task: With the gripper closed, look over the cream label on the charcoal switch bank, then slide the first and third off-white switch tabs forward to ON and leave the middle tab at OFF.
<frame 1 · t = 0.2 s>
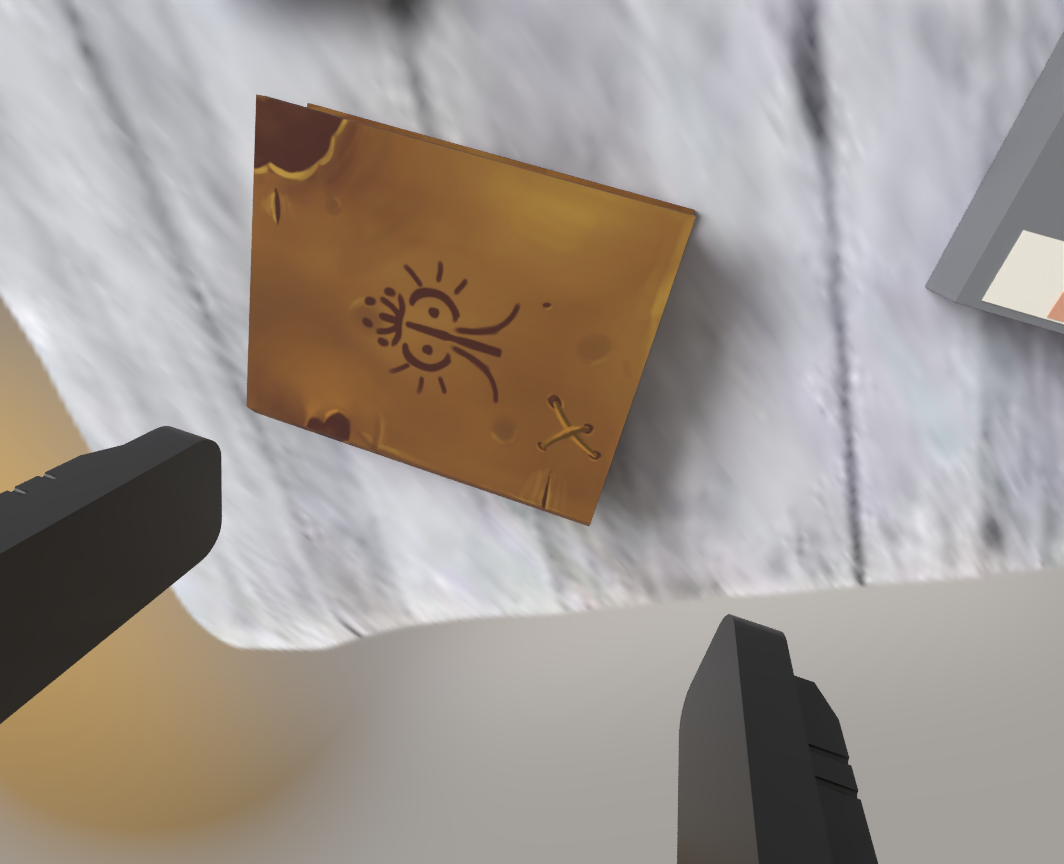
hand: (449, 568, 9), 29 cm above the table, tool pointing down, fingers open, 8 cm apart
diary: (468, 311, 39), on the table
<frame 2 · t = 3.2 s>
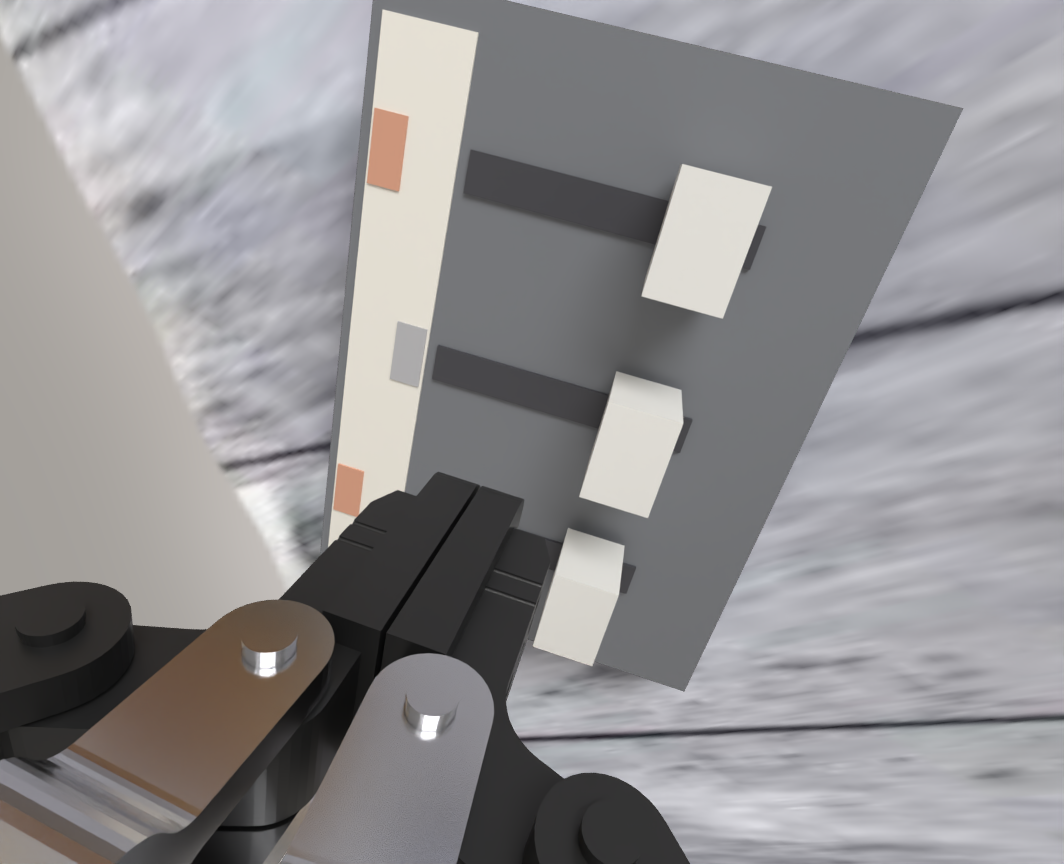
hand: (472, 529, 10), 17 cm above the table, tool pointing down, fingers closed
switch tab 3: (579, 594, 24), point 6 cm above the table, slide at 0.0 cm
switch bank: (573, 367, 27), on the table
switch tab 1: (700, 238, 18), point 6 cm above the table, slide at 0.0 cm
switch tab 2: (631, 442, 21), point 6 cm above the table, slide at 0.0 cm
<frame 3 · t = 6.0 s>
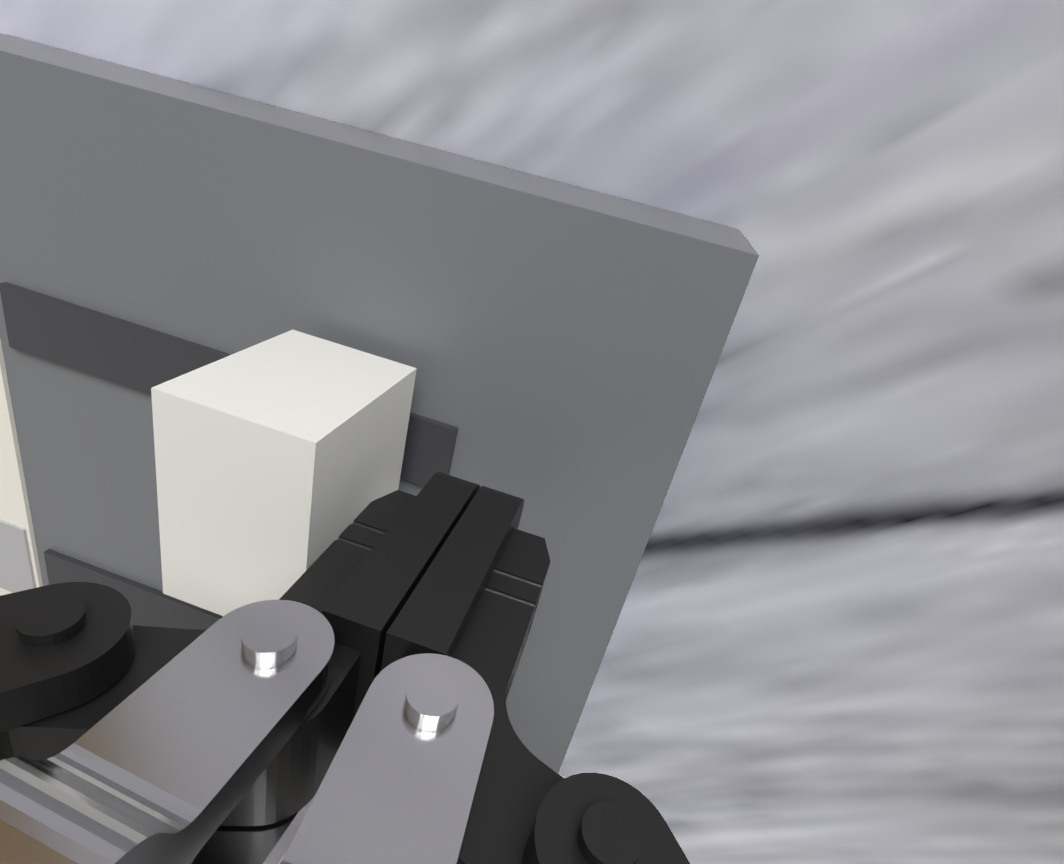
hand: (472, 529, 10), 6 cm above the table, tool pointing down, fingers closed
switch bank: (310, 546, 19), on the table
switch tab 1: (296, 475, 10), point 6 cm above the table, slide at 0.0 cm, touching gripper
switch tab 2: (279, 746, 13), point 6 cm above the table, slide at 0.0 cm
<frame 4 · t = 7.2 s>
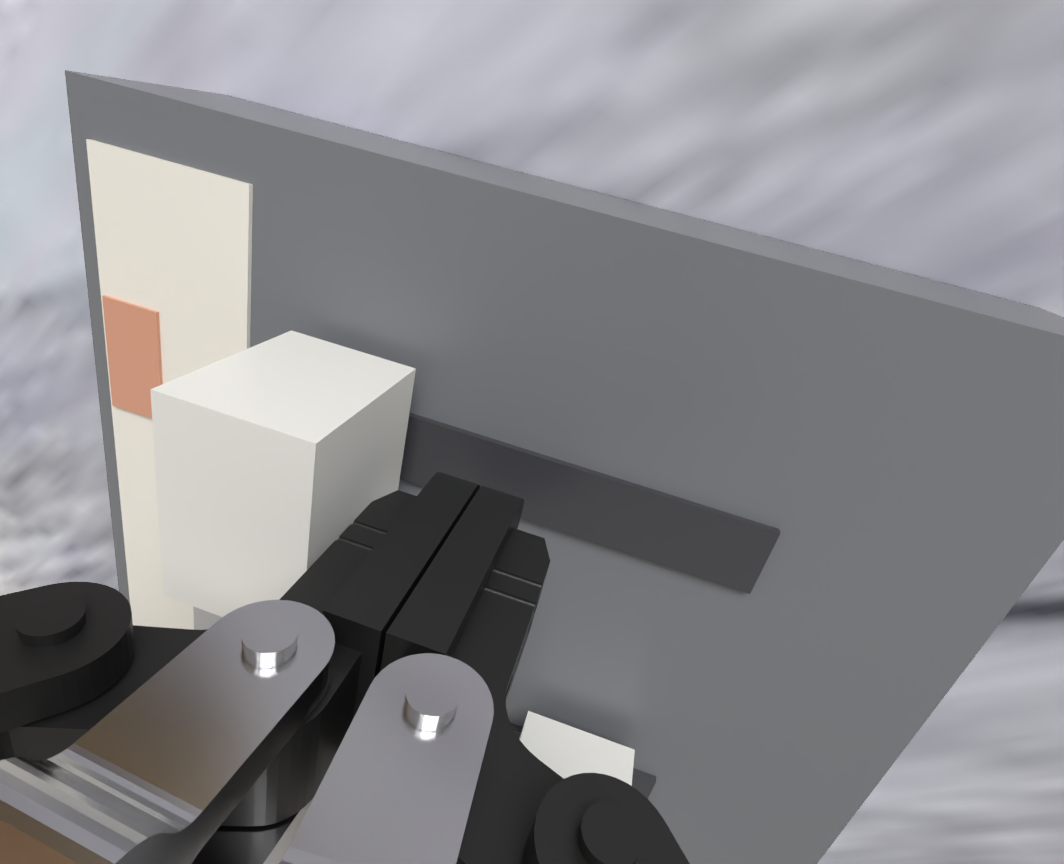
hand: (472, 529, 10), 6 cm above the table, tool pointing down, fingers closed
switch bank: (492, 611, 18), on the table
switch tab 1: (295, 476, 10), point 6 cm above the table, slide at 6.1 cm, touching gripper
switch tab 2: (546, 852, 12), point 6 cm above the table, slide at 0.0 cm
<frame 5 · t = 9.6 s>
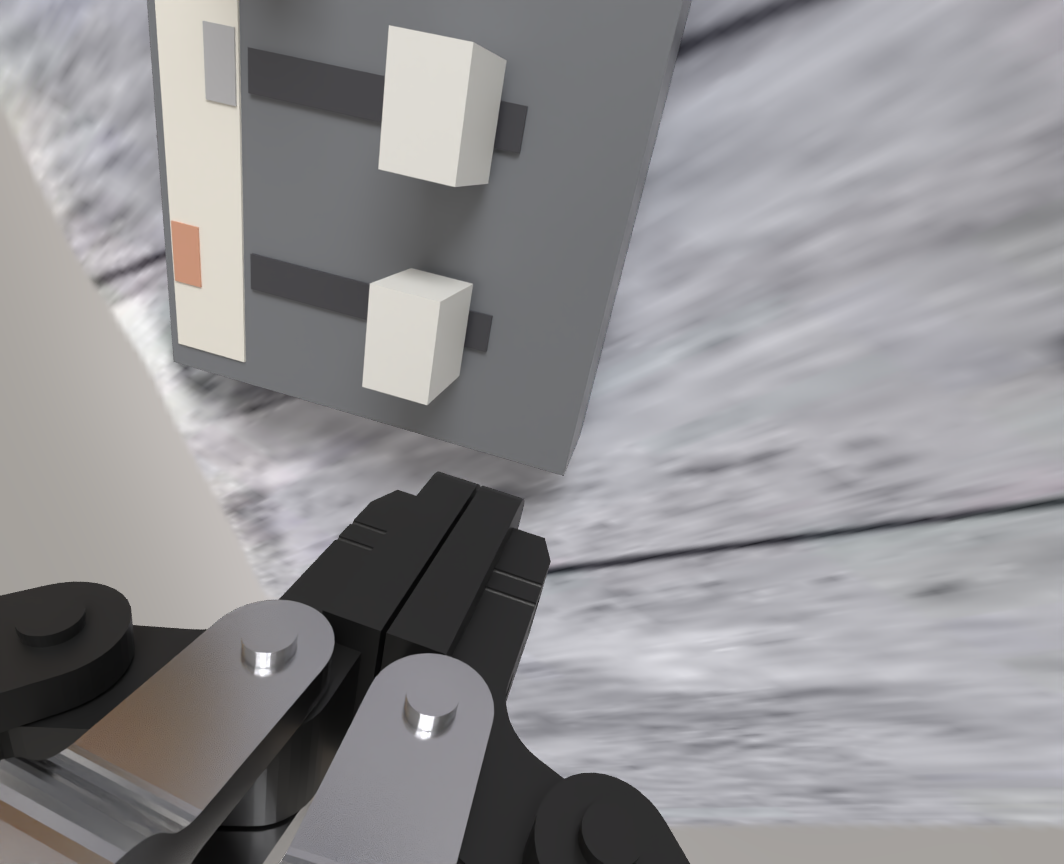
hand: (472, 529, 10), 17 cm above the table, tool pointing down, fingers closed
switch tab 3: (418, 334, 21), point 6 cm above the table, slide at 0.0 cm
switch bank: (428, 109, 24), on the table
switch tab 2: (444, 113, 18), point 6 cm above the table, slide at 0.0 cm
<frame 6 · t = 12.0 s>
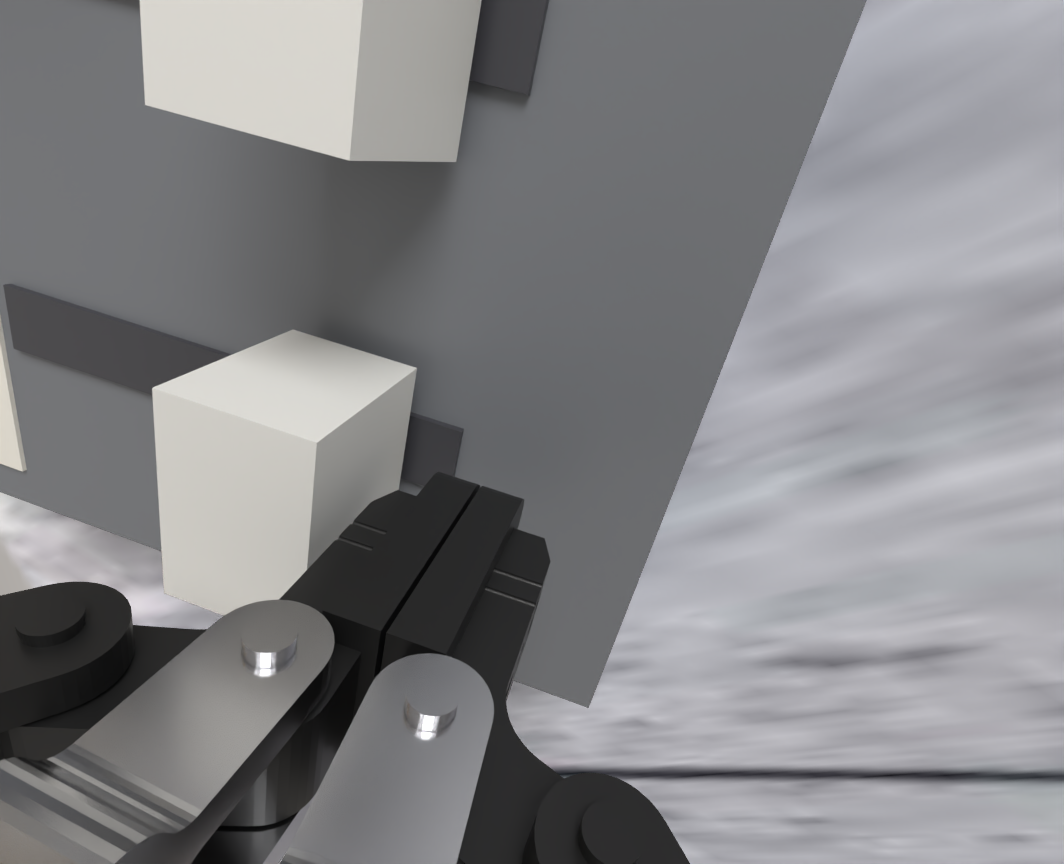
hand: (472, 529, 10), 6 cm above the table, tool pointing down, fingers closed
switch tab 3: (296, 475, 10), point 6 cm above the table, slide at 0.1 cm, touching gripper
switch bank: (356, 21, 13), on the table
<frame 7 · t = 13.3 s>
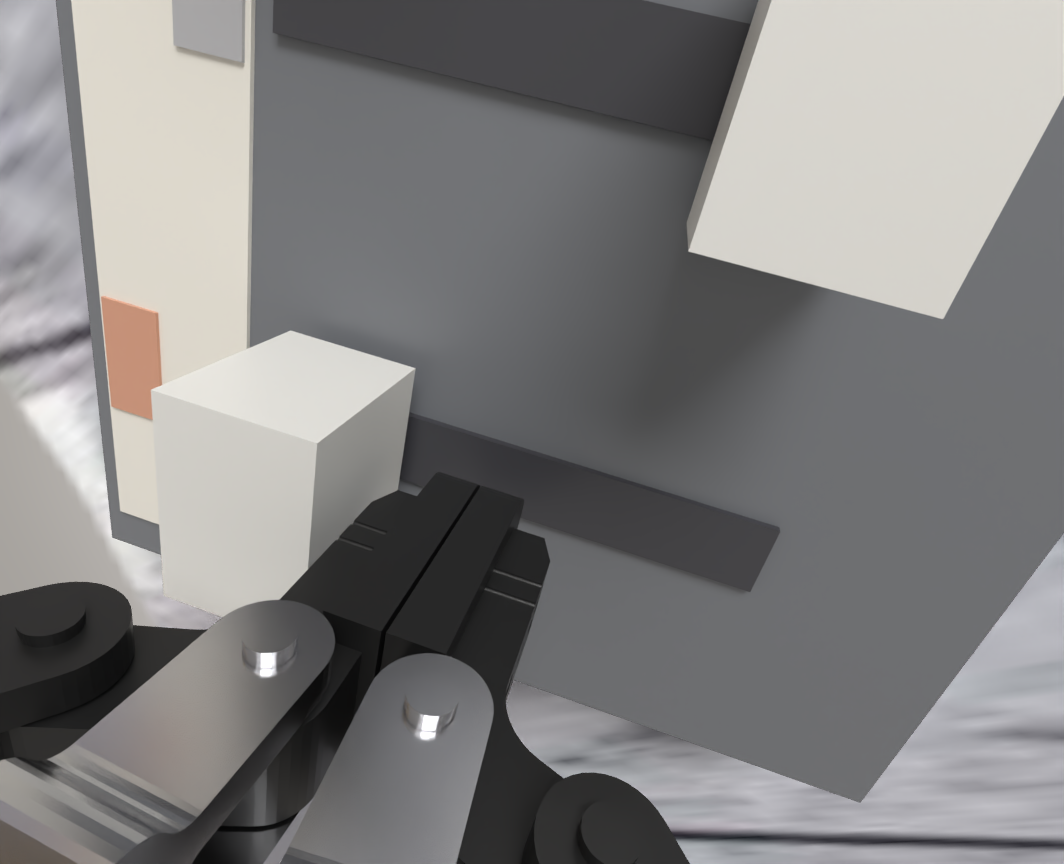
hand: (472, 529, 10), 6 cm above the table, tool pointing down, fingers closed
switch tab 3: (296, 476, 10), point 6 cm above the table, slide at 6.1 cm, touching gripper
switch bank: (626, 88, 12), on the table
switch tab 2: (856, 89, 6), point 6 cm above the table, slide at 0.0 cm
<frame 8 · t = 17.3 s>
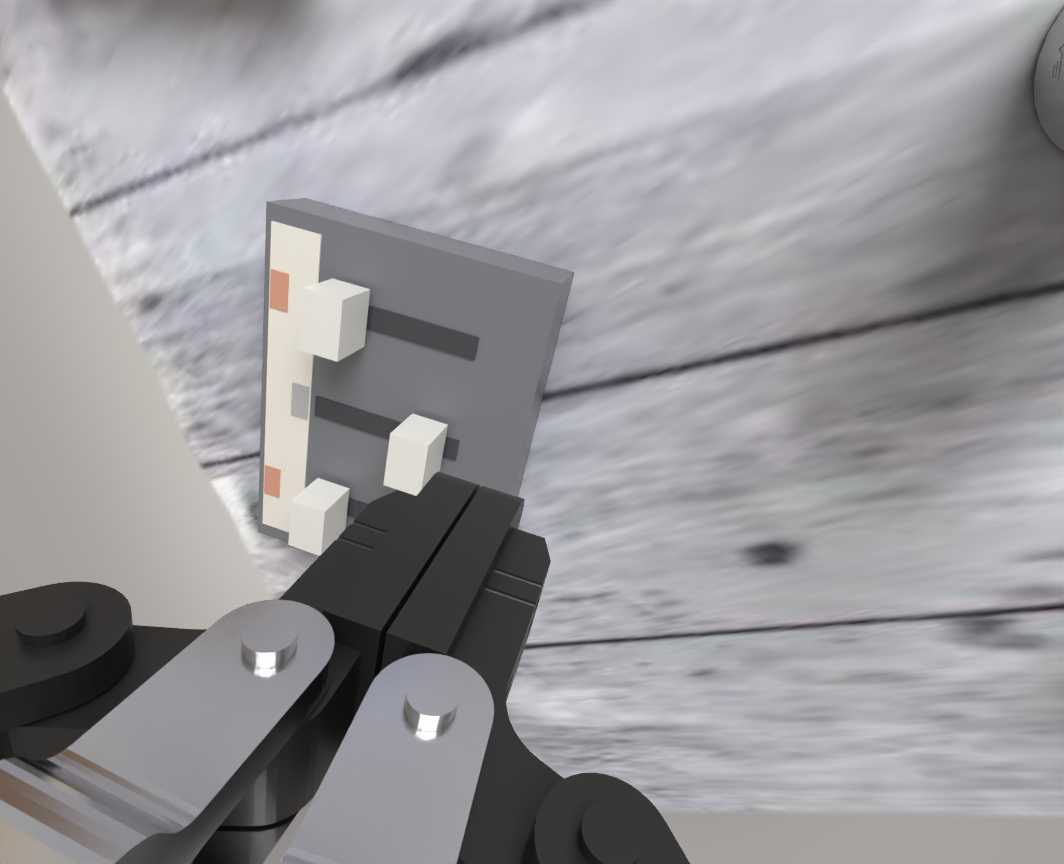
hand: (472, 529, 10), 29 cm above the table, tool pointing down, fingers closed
switch tab 3: (319, 516, 41), point 6 cm above the table, slide at 6.1 cm
switch bank: (410, 405, 43), on the table
switch tab 1: (335, 319, 35), point 6 cm above the table, slide at 6.1 cm
switch tab 2: (416, 454, 37), point 6 cm above the table, slide at 0.0 cm
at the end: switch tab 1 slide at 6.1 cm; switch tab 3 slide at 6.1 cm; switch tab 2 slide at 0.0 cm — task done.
